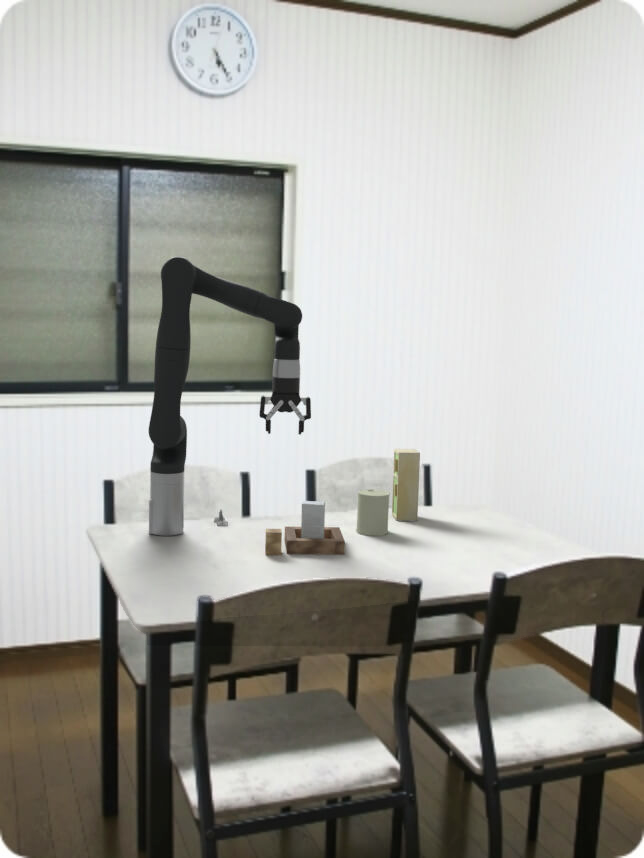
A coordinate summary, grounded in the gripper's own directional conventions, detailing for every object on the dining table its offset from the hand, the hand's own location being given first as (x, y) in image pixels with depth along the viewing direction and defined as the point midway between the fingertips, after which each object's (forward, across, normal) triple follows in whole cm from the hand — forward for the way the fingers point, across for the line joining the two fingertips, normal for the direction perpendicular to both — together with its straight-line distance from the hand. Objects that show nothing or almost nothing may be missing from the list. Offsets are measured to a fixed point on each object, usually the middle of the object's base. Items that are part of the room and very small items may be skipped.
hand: (284, 433), depth 257 cm
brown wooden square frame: (+28, +8, -15) cm, 33 cm away
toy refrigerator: (+28, +38, +20) cm, 51 cm away
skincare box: (+28, +8, -15) cm, 33 cm away
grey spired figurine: (+29, -17, +5) cm, 34 cm away
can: (+28, +26, +2) cm, 38 cm away
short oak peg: (+28, -3, -22) cm, 36 cm away
